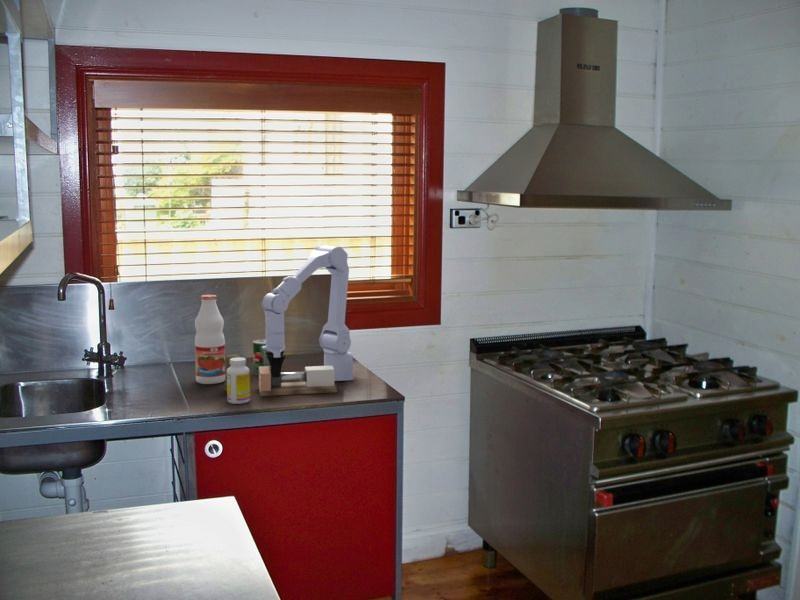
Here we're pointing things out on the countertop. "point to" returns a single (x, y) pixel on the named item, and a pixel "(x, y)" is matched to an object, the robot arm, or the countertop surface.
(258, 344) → the canned tomato
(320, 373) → the sleeve
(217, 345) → the fruit juice
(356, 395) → the countertop surface
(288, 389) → the tan board
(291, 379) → the tube
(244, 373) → the supplement bottle
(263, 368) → the socket block
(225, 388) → the olive tan rounded piece
